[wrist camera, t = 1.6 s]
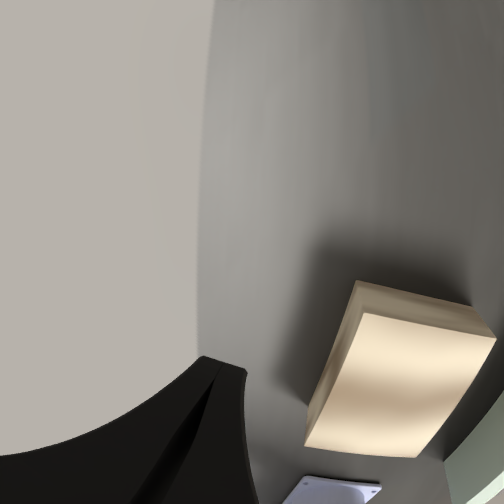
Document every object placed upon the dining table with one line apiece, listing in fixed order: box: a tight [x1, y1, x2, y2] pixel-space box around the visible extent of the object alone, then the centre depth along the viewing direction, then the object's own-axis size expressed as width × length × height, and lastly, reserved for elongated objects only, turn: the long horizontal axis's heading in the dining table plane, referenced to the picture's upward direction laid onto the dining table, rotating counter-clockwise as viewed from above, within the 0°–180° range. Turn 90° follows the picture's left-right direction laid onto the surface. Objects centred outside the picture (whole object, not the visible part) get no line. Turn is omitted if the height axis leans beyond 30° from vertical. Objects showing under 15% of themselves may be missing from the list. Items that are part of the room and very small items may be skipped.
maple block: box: [304, 280, 497, 457], centre depth 16 cm, size 10×8×4 cm
